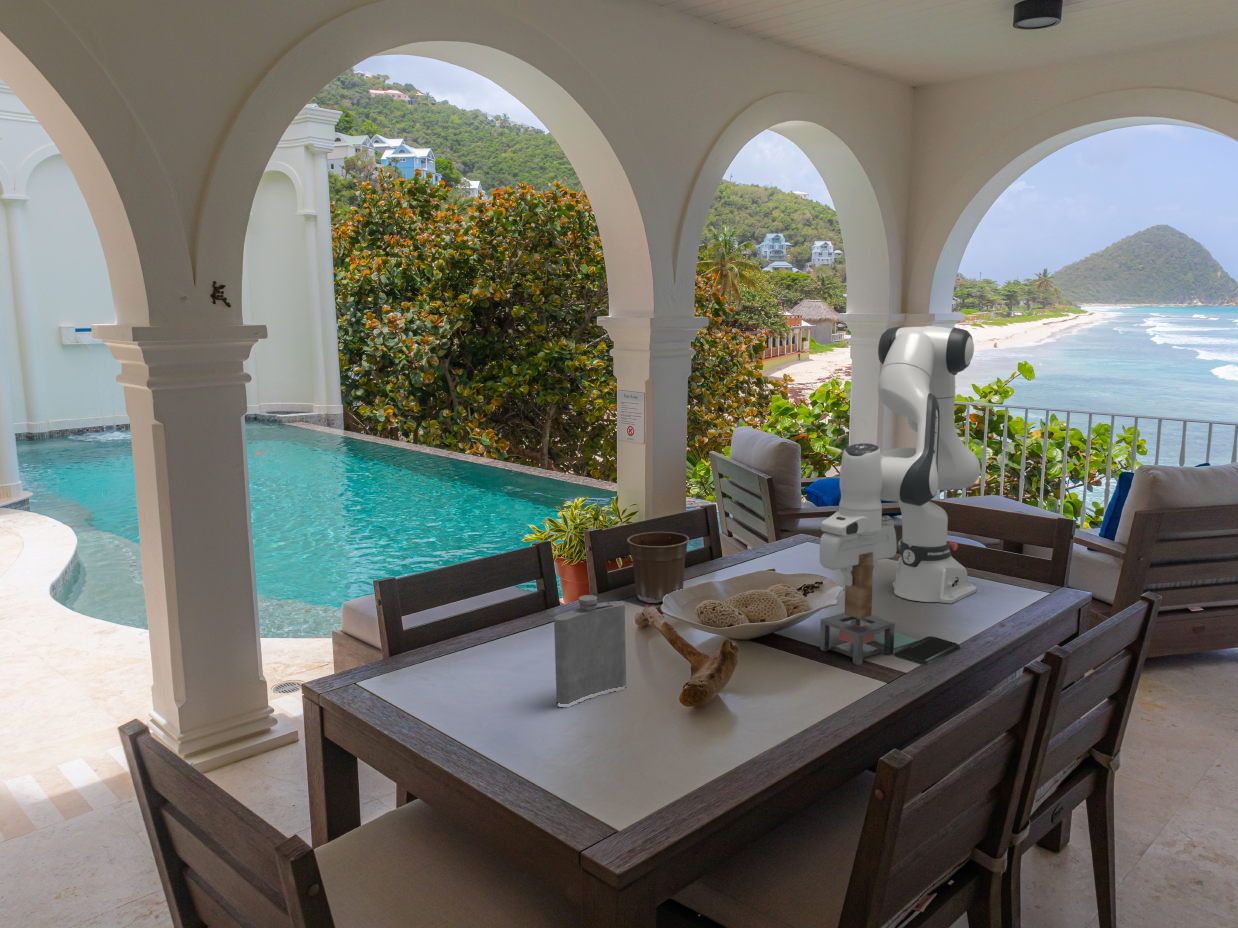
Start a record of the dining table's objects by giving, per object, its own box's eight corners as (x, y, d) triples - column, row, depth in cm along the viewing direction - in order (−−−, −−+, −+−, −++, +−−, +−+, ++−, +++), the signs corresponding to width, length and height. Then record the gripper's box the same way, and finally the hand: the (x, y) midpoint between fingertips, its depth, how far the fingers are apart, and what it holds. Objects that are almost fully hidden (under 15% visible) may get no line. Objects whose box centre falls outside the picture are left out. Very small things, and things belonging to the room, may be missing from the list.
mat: (890, 632, 204) (890, 630, 204) (918, 642, 197) (918, 640, 197) (866, 639, 200) (866, 637, 200) (894, 649, 193) (894, 647, 193)
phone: (962, 644, 194) (925, 662, 184) (961, 649, 194) (925, 667, 184) (929, 635, 200) (892, 651, 190) (929, 640, 200) (892, 656, 190)
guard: (855, 639, 200) (855, 609, 199) (893, 653, 191) (894, 623, 190) (819, 649, 194) (820, 618, 193) (857, 665, 185) (858, 633, 184)
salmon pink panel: (856, 633, 196) (856, 624, 195) (874, 640, 191) (874, 630, 191) (839, 638, 193) (839, 628, 193) (857, 645, 189) (857, 635, 188)
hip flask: (562, 709, 166) (559, 608, 163) (551, 702, 170) (547, 603, 167) (629, 687, 176) (627, 591, 173) (617, 681, 179) (615, 586, 176)
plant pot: (616, 601, 230) (615, 541, 228) (647, 585, 244) (646, 528, 241) (671, 611, 222) (670, 549, 219) (700, 593, 235) (699, 535, 233)
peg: (857, 610, 194) (858, 548, 192) (871, 615, 190) (873, 552, 188) (844, 614, 191) (845, 551, 189) (858, 618, 188) (860, 555, 186)
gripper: (881, 511, 196) (880, 572, 198) (815, 523, 185) (814, 587, 187) (904, 516, 191) (902, 578, 193) (837, 529, 180) (836, 594, 182)
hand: (858, 582), depth 190 cm, fingers closed on peg, 4 cm apart
